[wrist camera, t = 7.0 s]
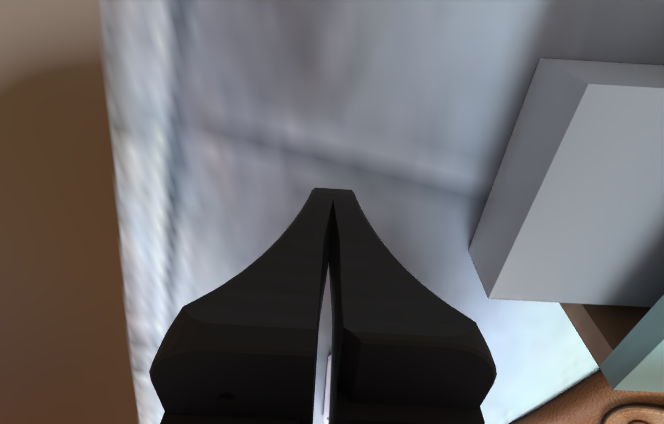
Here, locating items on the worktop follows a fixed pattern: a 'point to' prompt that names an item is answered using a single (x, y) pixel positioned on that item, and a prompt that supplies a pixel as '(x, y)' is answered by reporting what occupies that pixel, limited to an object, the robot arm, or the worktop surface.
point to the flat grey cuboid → (579, 190)
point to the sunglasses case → (599, 406)
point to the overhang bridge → (623, 342)
